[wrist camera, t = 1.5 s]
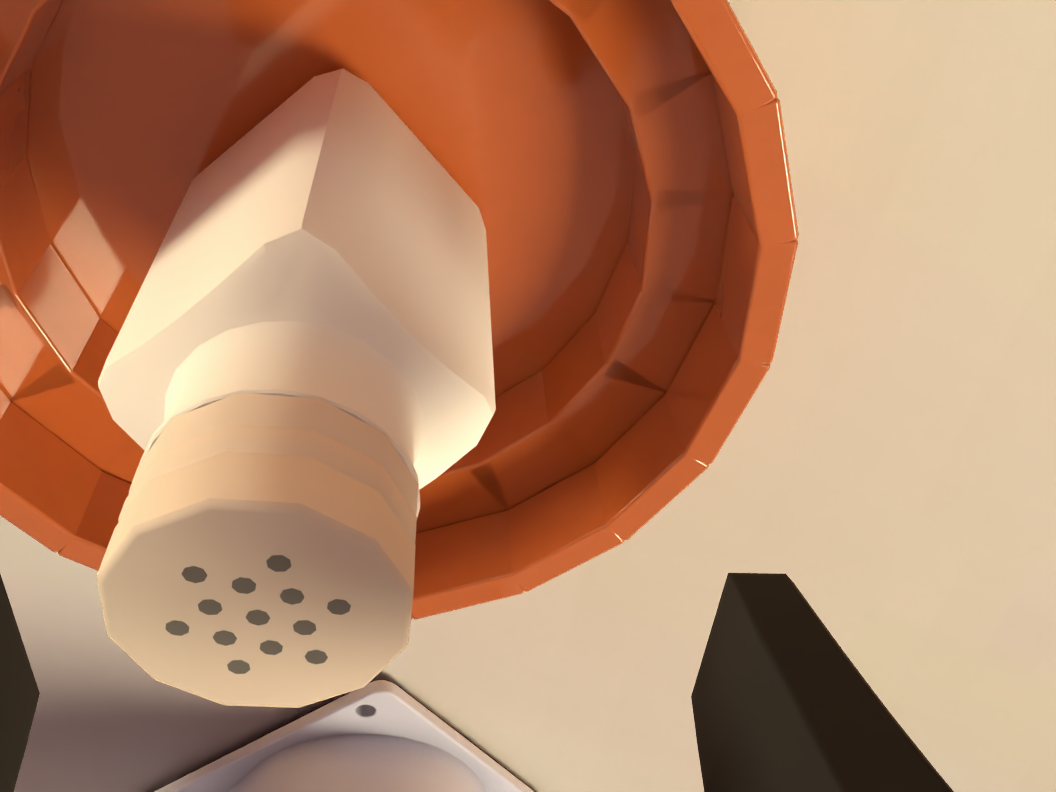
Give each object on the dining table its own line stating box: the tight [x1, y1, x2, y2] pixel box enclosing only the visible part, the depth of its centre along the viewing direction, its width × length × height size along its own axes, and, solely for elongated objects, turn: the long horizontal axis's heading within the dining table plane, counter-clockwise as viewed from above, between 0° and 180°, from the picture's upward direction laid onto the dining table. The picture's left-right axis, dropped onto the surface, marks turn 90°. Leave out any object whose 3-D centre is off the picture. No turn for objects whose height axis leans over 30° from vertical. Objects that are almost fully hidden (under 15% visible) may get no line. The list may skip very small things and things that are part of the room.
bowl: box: [0, 0, 799, 620], centre depth 17 cm, size 14×14×4 cm
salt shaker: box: [97, 68, 496, 708], centre depth 14 cm, size 4×4×10 cm
